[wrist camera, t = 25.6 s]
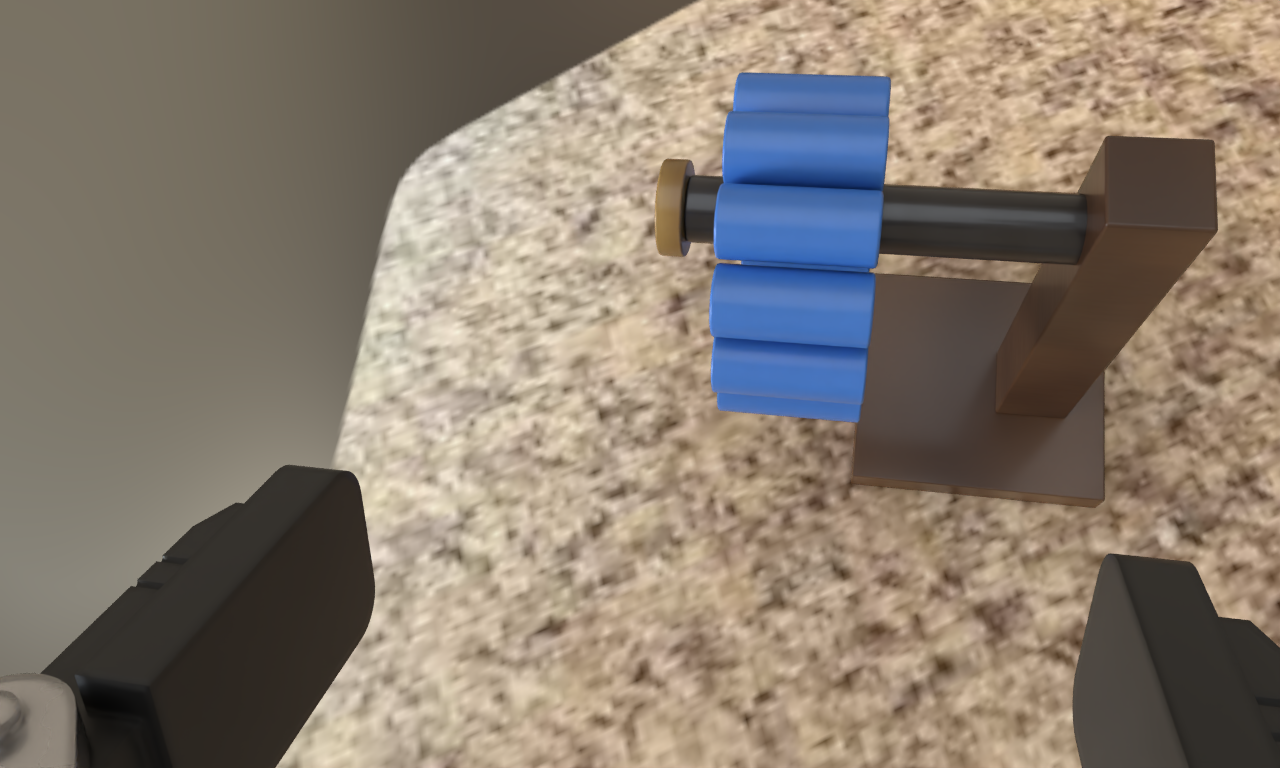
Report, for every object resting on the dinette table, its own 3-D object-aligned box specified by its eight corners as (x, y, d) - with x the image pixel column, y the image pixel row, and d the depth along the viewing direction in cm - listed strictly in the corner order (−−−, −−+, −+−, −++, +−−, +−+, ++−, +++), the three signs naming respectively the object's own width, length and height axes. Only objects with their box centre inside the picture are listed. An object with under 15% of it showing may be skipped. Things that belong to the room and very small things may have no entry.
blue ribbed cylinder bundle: (875, 177, 35) (898, 4, 26) (853, 449, 32) (871, 362, 24) (756, 171, 36) (739, 1, 27) (727, 437, 33) (697, 349, 24)
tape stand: (1096, 300, 39) (1271, 37, 24) (1095, 508, 36) (1290, 353, 22) (716, 275, 42) (671, 25, 27) (692, 468, 39) (628, 305, 25)
